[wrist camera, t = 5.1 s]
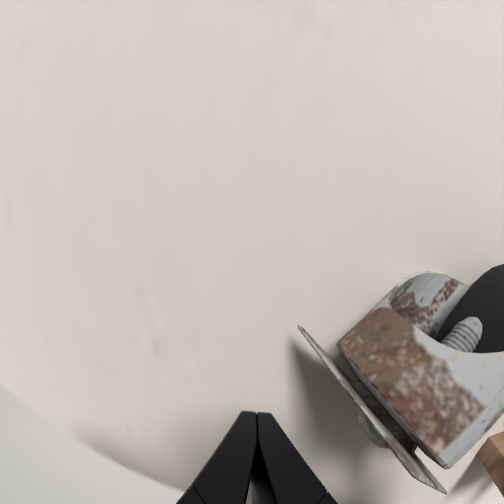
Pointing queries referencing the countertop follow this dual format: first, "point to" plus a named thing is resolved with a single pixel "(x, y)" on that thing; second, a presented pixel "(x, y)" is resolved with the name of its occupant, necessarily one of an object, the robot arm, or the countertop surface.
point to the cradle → (494, 459)
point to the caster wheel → (428, 368)
